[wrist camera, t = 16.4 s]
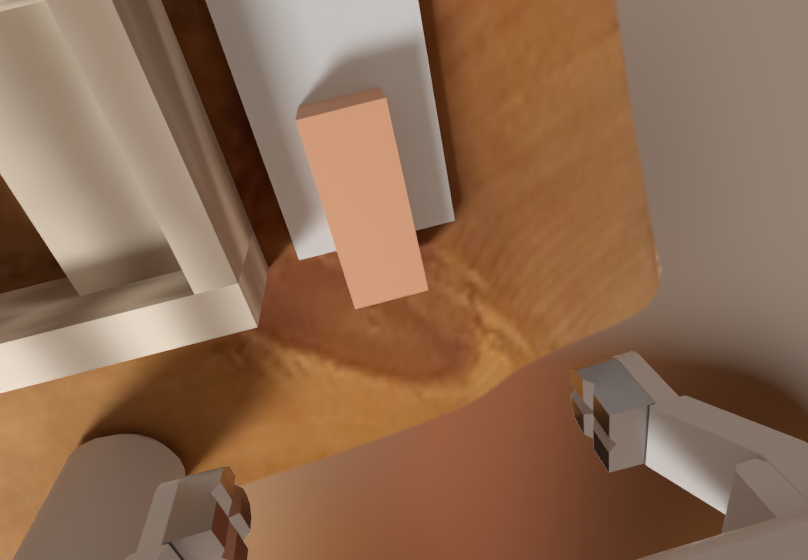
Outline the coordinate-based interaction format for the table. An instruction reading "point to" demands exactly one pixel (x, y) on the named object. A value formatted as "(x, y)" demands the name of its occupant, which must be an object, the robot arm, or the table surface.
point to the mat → (333, 95)
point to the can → (101, 500)
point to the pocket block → (116, 192)
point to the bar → (363, 195)
